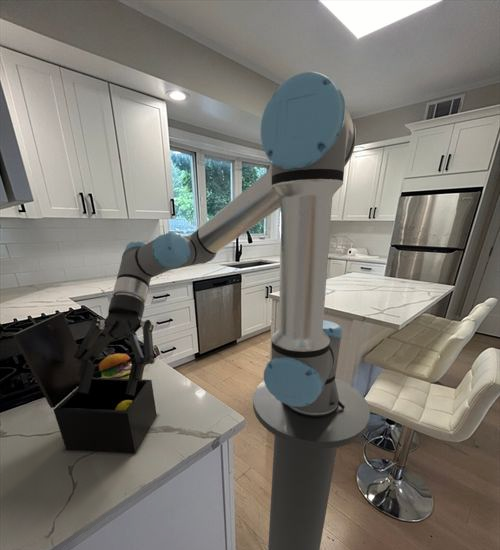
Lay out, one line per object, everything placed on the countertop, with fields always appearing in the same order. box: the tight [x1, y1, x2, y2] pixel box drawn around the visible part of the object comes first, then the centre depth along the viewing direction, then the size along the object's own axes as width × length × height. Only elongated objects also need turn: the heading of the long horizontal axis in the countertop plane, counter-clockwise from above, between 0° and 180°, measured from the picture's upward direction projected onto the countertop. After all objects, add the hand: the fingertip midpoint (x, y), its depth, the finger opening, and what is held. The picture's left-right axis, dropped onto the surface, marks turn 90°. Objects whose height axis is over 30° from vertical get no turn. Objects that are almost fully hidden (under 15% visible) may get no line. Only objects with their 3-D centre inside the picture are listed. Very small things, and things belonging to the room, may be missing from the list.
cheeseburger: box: [98, 353, 132, 379], centre depth 86 cm, size 10×11×10 cm
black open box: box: [53, 377, 158, 454], centre depth 64 cm, size 16×13×11 cm
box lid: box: [12, 312, 82, 409], centre depth 59 cm, size 16×13×1 cm
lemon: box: [115, 400, 132, 411], centre depth 64 cm, size 6×6×8 cm
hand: (106, 393), depth 58 cm, fingers open, 10 cm apart
